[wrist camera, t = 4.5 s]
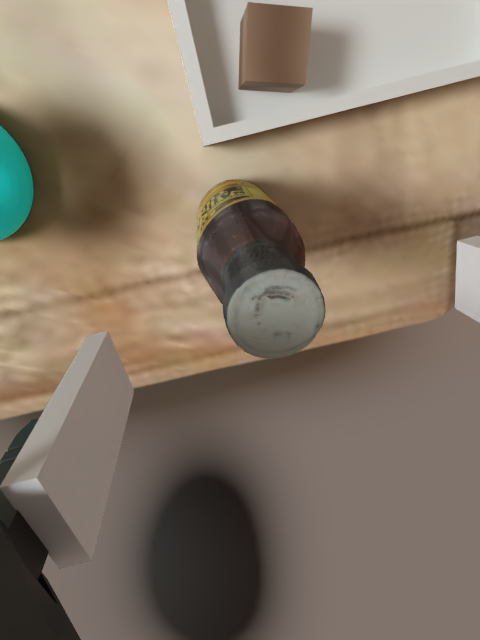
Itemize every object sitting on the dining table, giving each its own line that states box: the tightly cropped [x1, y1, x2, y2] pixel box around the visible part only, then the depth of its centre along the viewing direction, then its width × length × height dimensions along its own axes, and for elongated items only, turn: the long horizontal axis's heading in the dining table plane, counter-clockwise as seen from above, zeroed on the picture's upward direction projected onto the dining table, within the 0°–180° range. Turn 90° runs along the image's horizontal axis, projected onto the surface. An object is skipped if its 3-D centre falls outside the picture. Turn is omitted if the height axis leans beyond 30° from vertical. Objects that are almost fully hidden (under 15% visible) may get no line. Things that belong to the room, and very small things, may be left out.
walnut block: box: [238, 2, 313, 93], centre depth 25 cm, size 4×4×4 cm
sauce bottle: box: [197, 180, 325, 359], centre depth 23 cm, size 7×6×20 cm
